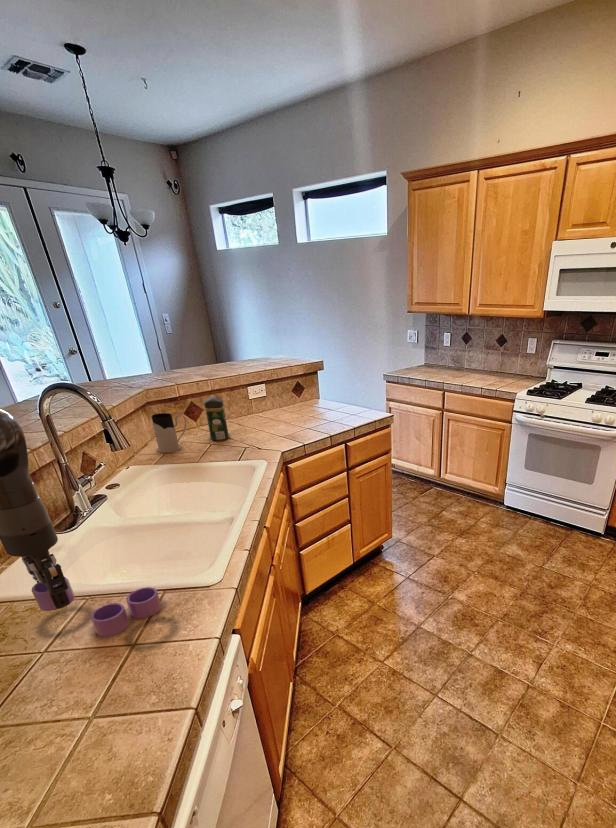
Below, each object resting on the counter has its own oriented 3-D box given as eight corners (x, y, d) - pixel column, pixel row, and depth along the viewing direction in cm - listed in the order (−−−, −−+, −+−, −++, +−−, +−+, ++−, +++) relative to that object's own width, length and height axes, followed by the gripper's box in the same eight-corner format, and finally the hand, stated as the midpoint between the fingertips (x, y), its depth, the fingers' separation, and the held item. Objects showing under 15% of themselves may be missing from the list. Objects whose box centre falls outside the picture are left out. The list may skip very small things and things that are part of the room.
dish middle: (92, 630, 85) (85, 613, 83) (121, 615, 89) (116, 599, 87) (105, 642, 82) (98, 625, 80) (135, 626, 86) (129, 610, 84)
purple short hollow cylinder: (35, 603, 83) (26, 586, 82) (68, 589, 87) (60, 572, 86) (46, 615, 81) (38, 597, 79) (79, 600, 85) (72, 582, 83)
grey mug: (153, 450, 182) (145, 415, 176) (184, 442, 193) (177, 409, 186) (165, 454, 178) (157, 419, 171) (196, 446, 189) (189, 412, 182)
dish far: (126, 613, 90) (121, 596, 88) (153, 599, 94) (148, 584, 92) (140, 623, 87) (134, 607, 85) (167, 609, 91) (162, 593, 89)
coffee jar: (211, 435, 203) (204, 396, 195) (229, 434, 206) (222, 395, 197) (209, 441, 195) (202, 400, 187) (228, 440, 197) (221, 399, 189)
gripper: (-17, 520, 77) (20, 596, 85) (11, 545, 70) (48, 625, 77) (34, 506, 83) (63, 578, 90) (64, 527, 75) (94, 604, 83)
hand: (56, 599), depth 84 cm, fingers closed on purple short hollow cylinder, 5 cm apart
